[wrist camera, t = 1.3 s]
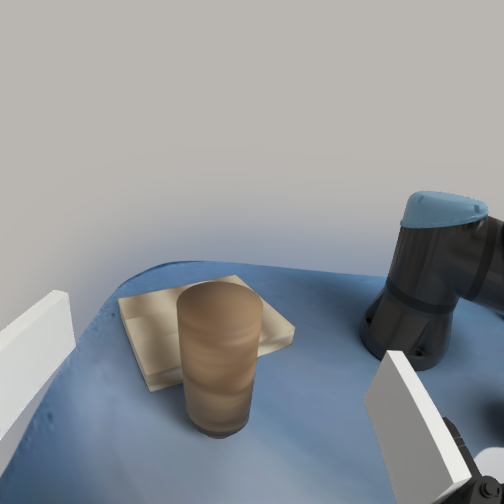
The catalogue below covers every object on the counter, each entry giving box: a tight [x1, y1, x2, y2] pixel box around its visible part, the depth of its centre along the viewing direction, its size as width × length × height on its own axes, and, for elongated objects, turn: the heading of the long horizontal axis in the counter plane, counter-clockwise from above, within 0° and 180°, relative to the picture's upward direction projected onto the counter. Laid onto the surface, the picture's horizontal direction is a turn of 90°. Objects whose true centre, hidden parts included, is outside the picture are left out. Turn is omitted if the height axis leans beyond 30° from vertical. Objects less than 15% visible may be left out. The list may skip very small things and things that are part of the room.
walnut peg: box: [176, 281, 263, 439], centre depth 23 cm, size 6×6×16 cm
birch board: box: [118, 275, 295, 392], centre depth 40 cm, size 20×16×3 cm
